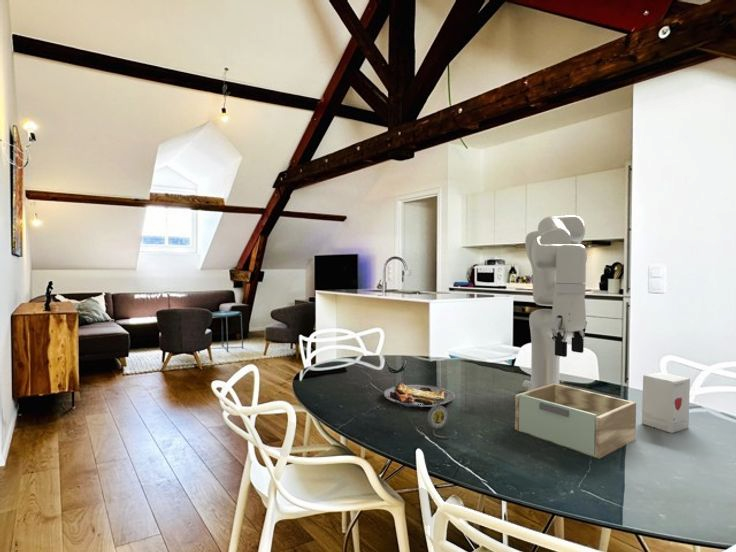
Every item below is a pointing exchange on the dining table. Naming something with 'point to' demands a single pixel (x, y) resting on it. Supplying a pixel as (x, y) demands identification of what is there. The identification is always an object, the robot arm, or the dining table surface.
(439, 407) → the pocket watch
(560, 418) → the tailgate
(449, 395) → the food plate
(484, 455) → the dining table surface
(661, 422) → the supplement box
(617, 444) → the crate
